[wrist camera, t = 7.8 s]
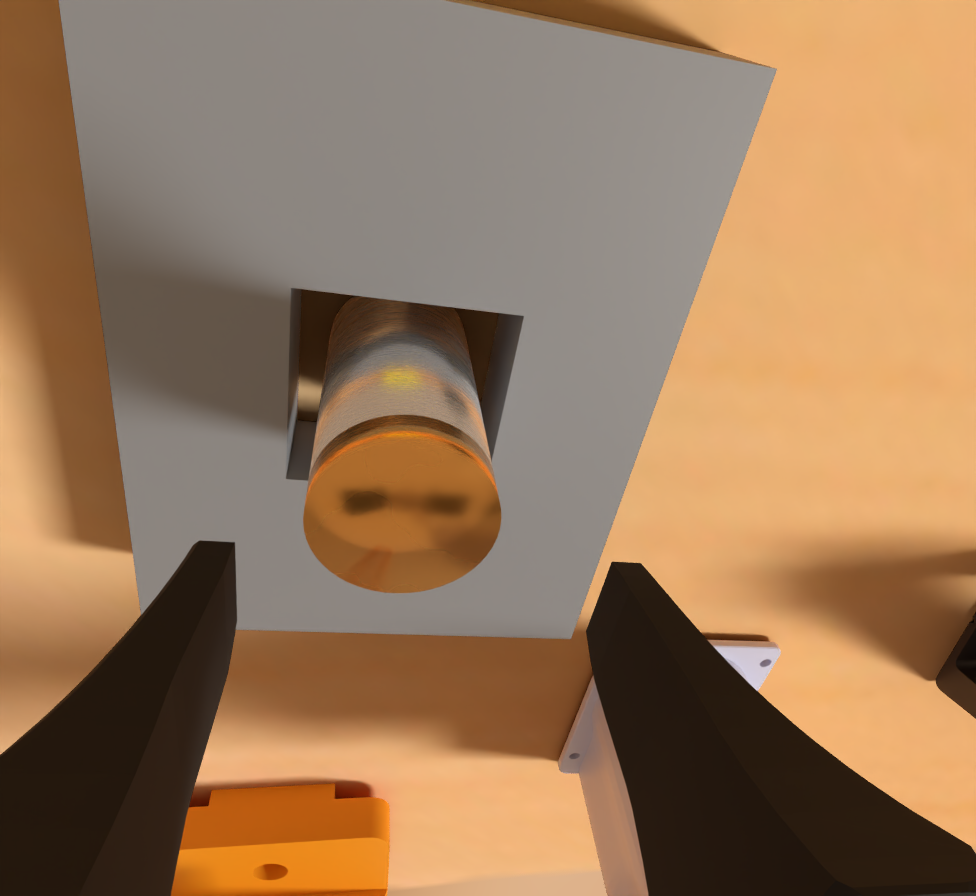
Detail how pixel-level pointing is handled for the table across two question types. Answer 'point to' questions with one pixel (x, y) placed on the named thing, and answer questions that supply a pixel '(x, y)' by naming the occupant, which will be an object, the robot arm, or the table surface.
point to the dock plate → (391, 265)
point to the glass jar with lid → (400, 451)
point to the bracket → (284, 844)
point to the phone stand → (961, 671)
